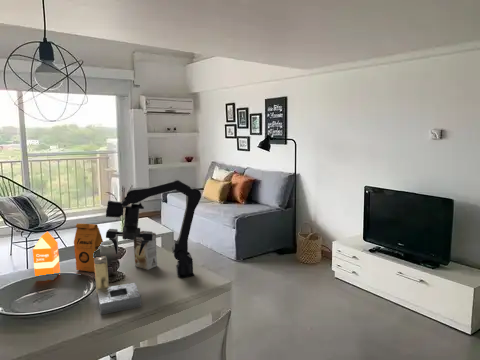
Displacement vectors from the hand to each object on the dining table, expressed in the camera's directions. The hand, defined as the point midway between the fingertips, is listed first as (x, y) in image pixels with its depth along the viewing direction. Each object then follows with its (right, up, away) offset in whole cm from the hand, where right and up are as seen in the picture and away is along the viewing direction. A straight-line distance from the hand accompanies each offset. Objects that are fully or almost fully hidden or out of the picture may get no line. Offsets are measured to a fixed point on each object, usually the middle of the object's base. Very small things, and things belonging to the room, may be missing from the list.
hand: (128, 254), depth 161 cm
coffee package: (-22, -10, +17) cm, 30 cm away
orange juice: (-38, -12, +8) cm, 40 cm away
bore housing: (+2, -14, -18) cm, 23 cm away
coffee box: (+3, -10, +20) cm, 22 cm away
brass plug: (-8, -13, -8) cm, 17 cm away
